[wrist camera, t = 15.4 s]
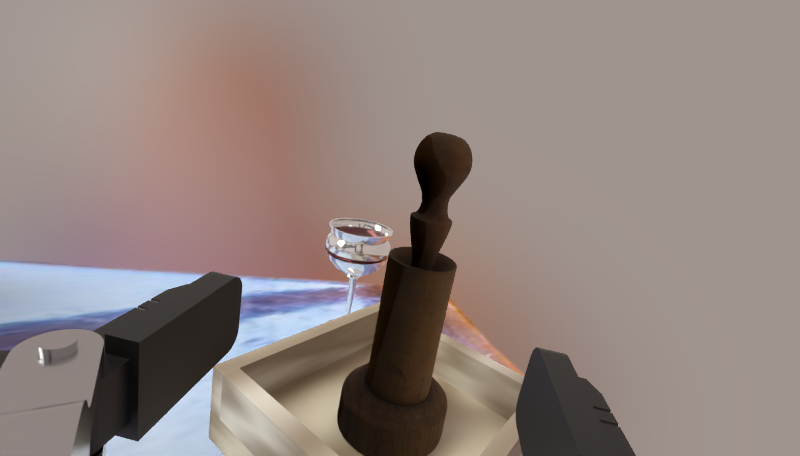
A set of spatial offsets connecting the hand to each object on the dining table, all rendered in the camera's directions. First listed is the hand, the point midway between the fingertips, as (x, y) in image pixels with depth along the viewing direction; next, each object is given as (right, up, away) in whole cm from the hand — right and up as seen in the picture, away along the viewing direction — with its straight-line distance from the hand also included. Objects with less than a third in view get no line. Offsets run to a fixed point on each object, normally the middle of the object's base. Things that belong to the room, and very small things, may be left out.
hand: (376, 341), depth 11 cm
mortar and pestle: (0, -9, +15) cm, 17 cm away
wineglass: (-6, -8, +34) cm, 35 cm away
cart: (-1, -14, +16) cm, 21 cm away
